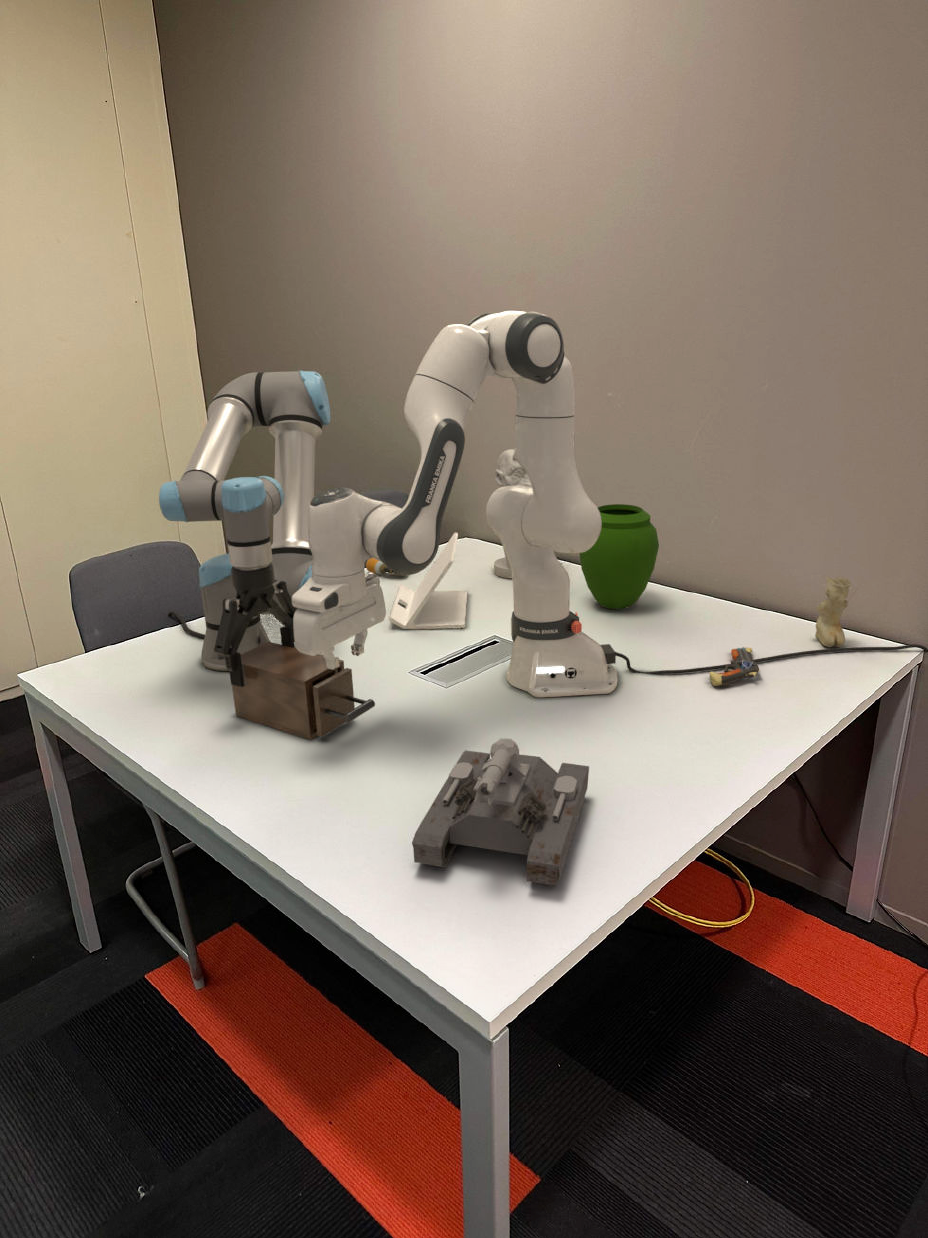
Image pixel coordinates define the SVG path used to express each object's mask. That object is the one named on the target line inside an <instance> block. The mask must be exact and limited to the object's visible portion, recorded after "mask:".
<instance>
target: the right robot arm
mask: <svg viewBox="0 0 928 1238" xmlns="http://www.w3.org/2000/svg"><path fill="white" fill-rule="evenodd" d="M490 376H492V377H496V378H502V379H511V381H512V383H513V385H514V388H515V397H516V398H515V407H514V412H515V413H514V448H513V449H514V453H515V457H516V460H517V461H518V463H519V464H520V465H521V466H522V467H523V468H524V470H525V471H526V473H527V475H528V477H529V479H530V482H531V485H532V487H530V486H525V485H513V486H504V487H502V486H500V487H498V488H497V489H495V490H494V491H493V492H492V493H491V495H490V496H489V498H488V501H487V504H486V507H485V517H486V518H485V519H486V522H487V524H488V526H489V528H490V529H491V530H492V531H493V533H494V534H495V535H496V537H497V538H498V539H499V541H500V544H501V546H502V545H503V546H502V548H504V549H503V551H504V550H505V553H506V556H507V558H508V561H509V565H510V568H511V573H512V578H511V579H512V592H513V593H512V594H513V596H512V597H513V611H512V612H511V618H510V635H511V640H512V645H511V646H512V647H511V655H510V660H509V665H508V669H507V672H506V675H505V678H506V681H507V683H509V684H510V685H511V686H513V687H515V688H517V689H519V690H522V691H525V692H527V693H529V694H530V695H531V696H533V697H535V698H556V697H572V696H573V697H574V696H588V695H589V696H590V695H591V696H592V695H607V694H611V693H612V692H613V691H615V690H616V688H617V686H618V673H617V670H616V668H615V667H614V666H613V664H615V665H616V662H617V661H616V660H617V659H616V657H619V658H621V659H623V660H624V661H625V662H626V667H627V669H628V671H630V672H631V673H634V674H644V675H655V676H656V675H657V676H658V675H665V674H666V675H667V674H669V675H670V674H688V673H695V672H705V671H712V670H713V671H714V670H721V669H725V666H726V665H730V664H731V663H725V664H719V665H711V666H701V667H695V668H693V667H692V668H686V669H685V668H684V669H664V670H663V669H662V670H654V671H642V670H641V671H640V670H637V669H634V668H633V667H632V666H631V661H630V659H629V657H628V656H627V655H625V654H623V653H620V652H616V651H615V650H614V648H613V647H612V645H611V644H610V643H605V644H600V643H599V642H598V641H596V640H595V639H593V638H591V637H590V636H589V635H587V634H586V633H585V632H583V631H582V630H583V626H582V625H583V624H582V622H581V621H580V616H579V615H578V612H577V611H575V613H574V612H573V611H571V610H570V590H571V589H570V586H571V585H570V584H571V579H570V576H569V575H570V574H569V572H568V571H567V569H566V568H565V567H564V566H563V565H562V563H561V562H560V561H559V560H558V557H557V556H556V554H555V552H556V553H559V554H579V553H582V552H586V551H587V550H589V549H590V548H591V547H592V546H593V545H594V544H595V543H596V541H597V539H598V538H599V535H600V532H601V527H602V521H601V515H600V512H599V510H598V507H597V505H596V504H595V503H594V502H593V501H592V499H590V497H589V495H588V494H587V491H586V490H585V488H584V486H583V483H582V481H581V478H580V475H579V471H578V468H577V462H576V454H575V452H576V451H575V444H576V443H575V442H576V441H575V440H576V439H575V436H576V435H575V434H576V431H575V430H576V388H575V378H574V370H573V366H572V364H571V362H570V360H569V359H568V358H567V357H566V356H565V344H564V339H563V334H562V331H561V329H560V327H559V324H558V323H557V322H556V321H555V320H554V319H553V318H552V317H550V316H548V315H546V314H544V313H541V312H538V311H527V312H526V311H523V310H522V311H520V310H506V311H502V312H496V313H484V314H480V315H478V316H475V317H474V318H472V319H471V320H469V321H468V322H467V323H466V324H461V323H453V324H449V325H447V326H444V327H443V328H442V329H440V331H439V332H438V334H437V336H435V338H434V340H433V341H432V343H431V344H430V346H429V347H428V349H427V351H426V353H425V354H424V356H423V358H422V360H421V362H420V364H419V366H418V368H417V370H416V372H415V374H414V376H413V378H412V381H411V383H410V385H409V388H408V390H407V394H406V397H405V401H404V406H403V414H404V419H405V421H406V424H407V426H408V428H409V429H410V431H411V432H412V434H413V435H414V436H415V438H416V440H417V441H418V444H419V446H420V462H419V465H418V468H417V471H416V474H415V477H414V480H413V482H412V486H411V489H410V492H409V495H408V497H407V501H406V502H405V504H404V506H403V507H400V506H397V505H395V504H393V503H390V502H386V501H382V500H376V499H372V498H369V497H367V496H365V495H362V494H359V493H358V492H356V491H354V490H353V489H352V488H350V487H337V488H329V489H326V490H324V491H321V492H319V493H317V494H316V495H314V498H313V499H312V500H311V502H310V505H309V509H308V538H309V547H310V550H311V552H312V556H313V563H312V569H311V570H312V577H311V578H309V580H308V581H307V582H306V583H305V584H304V585H303V586H302V587H301V588H300V589H299V590H298V591H297V592H296V593H295V594H294V595H293V596H292V605H293V606H294V607H296V608H298V609H297V610H296V611H295V614H294V618H293V627H294V639H295V642H294V645H295V648H296V649H297V650H298V651H299V652H300V653H303V654H306V655H310V656H315V655H317V654H320V655H323V657H324V658H325V659H326V666H327V668H328V669H332V670H333V669H335V668H337V667H339V665H340V664H339V659H340V657H338V656H335V655H334V653H333V652H335V646H337V645H338V644H341V643H342V642H344V641H346V640H348V639H350V638H352V637H354V640H353V644H351V645H350V651H351V654H352V656H356V657H360V656H361V655H363V654H365V643H366V640H367V637H368V635H369V634H368V629H370V628H372V627H374V626H376V625H378V624H380V623H382V622H384V620H385V618H386V615H387V610H386V602H385V596H384V592H383V588H382V585H381V584H380V583H381V582H380V577H379V575H378V574H375V573H373V572H367V573H366V571H365V563H366V562H367V561H368V560H369V559H372V558H374V559H376V560H378V561H380V562H382V563H383V564H385V565H386V566H387V567H389V568H390V569H391V570H393V571H394V572H396V573H398V574H402V575H401V576H403V575H405V576H411V575H415V574H418V573H420V572H421V571H424V570H425V569H426V568H428V567H429V566H430V565H431V564H432V562H433V561H434V559H435V558H436V556H437V554H438V551H439V548H440V541H441V529H442V522H443V519H444V514H445V511H446V509H447V508H446V507H447V504H448V502H449V498H450V495H451V492H452V489H453V486H454V483H455V481H456V477H457V473H458V471H459V468H460V464H461V461H462V457H463V454H464V450H465V443H466V435H465V433H466V428H467V424H468V421H469V418H470V415H471V413H472V410H473V407H474V404H475V403H476V400H477V398H478V395H479V393H480V390H481V387H482V385H483V384H484V383H485V381H486V380H487V378H489V377H490ZM505 553H504V554H505ZM914 648H915V649H921V650H922V651H924V652H926V653H928V647H926V646H924V645H921V644H906V645H905V644H904V645H899V646H858V647H855V646H853V647H837V648H836V647H835V648H834V647H833V648H824V649H813V650H806V651H804V650H803V651H798V652H792V653H785V654H780V655H772V656H768V657H762V658H756V659H753V660H754V661H755V662H756V663H757V664H758V663H762V662H767V661H773V660H779V659H785V658H791V657H798V656H806V655H815V654H823V653H824V654H825V653H835V652H854V651H855V652H857V651H858V652H859V651H899V650H907V649H914Z"/></svg>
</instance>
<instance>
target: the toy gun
mask: <svg viewBox="0 0 928 1238" xmlns="http://www.w3.org/2000/svg"><path fill="white" fill-rule="evenodd" d="M730 652H731V657H732V659H733V660H730V663H729V664H730V665H726V666H725V668H724V670H723V672H715V671H714V670H713V671H712V670H710V672H709V680H710V683H711V684H712V685H713V686H714V687H719V686H722V685H726V684H729V683H733V682H735V681H739V680H743V679H746V678H748V677H750V676H754V677H756V676H757V674H758V672H761V669H760V667H759V665H758V662H757V663H756V662H755V661H754V660H755V659H754V657H753V655H752V654H753V653H754V649H753V648H752V647H744V646H743V647H741V648H740V647H737V648H731V651H730Z"/></svg>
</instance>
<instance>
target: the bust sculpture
mask: <svg viewBox="0 0 928 1238" xmlns="http://www.w3.org/2000/svg"><path fill="white" fill-rule="evenodd" d="M494 480H495V482H496V484H497V486H498V487H504V486H513V485H525V486H530V487H532V485H531V482H530V479H529V477H528V475H527V473H526V471H525V470H524V468H523V467H522V466H521V465H520V464H519V463H518V461H517V460H516V457H515V453H514V448H512V449H506V450H504V451H502V452H501V454H500V455H499V457H498V459H497V461H496V468H495V471H494ZM501 546H502V548H503V545H502V544H501ZM503 553H504V557H502V558H498V559H496V560H495V561H494V562H493V573H494V574H495V575H496V576H497V577H500V578H506V579H512V573H511V568H510V565H509V561H508V558H507V556H506V553H505V550H504V548H503Z"/></svg>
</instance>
